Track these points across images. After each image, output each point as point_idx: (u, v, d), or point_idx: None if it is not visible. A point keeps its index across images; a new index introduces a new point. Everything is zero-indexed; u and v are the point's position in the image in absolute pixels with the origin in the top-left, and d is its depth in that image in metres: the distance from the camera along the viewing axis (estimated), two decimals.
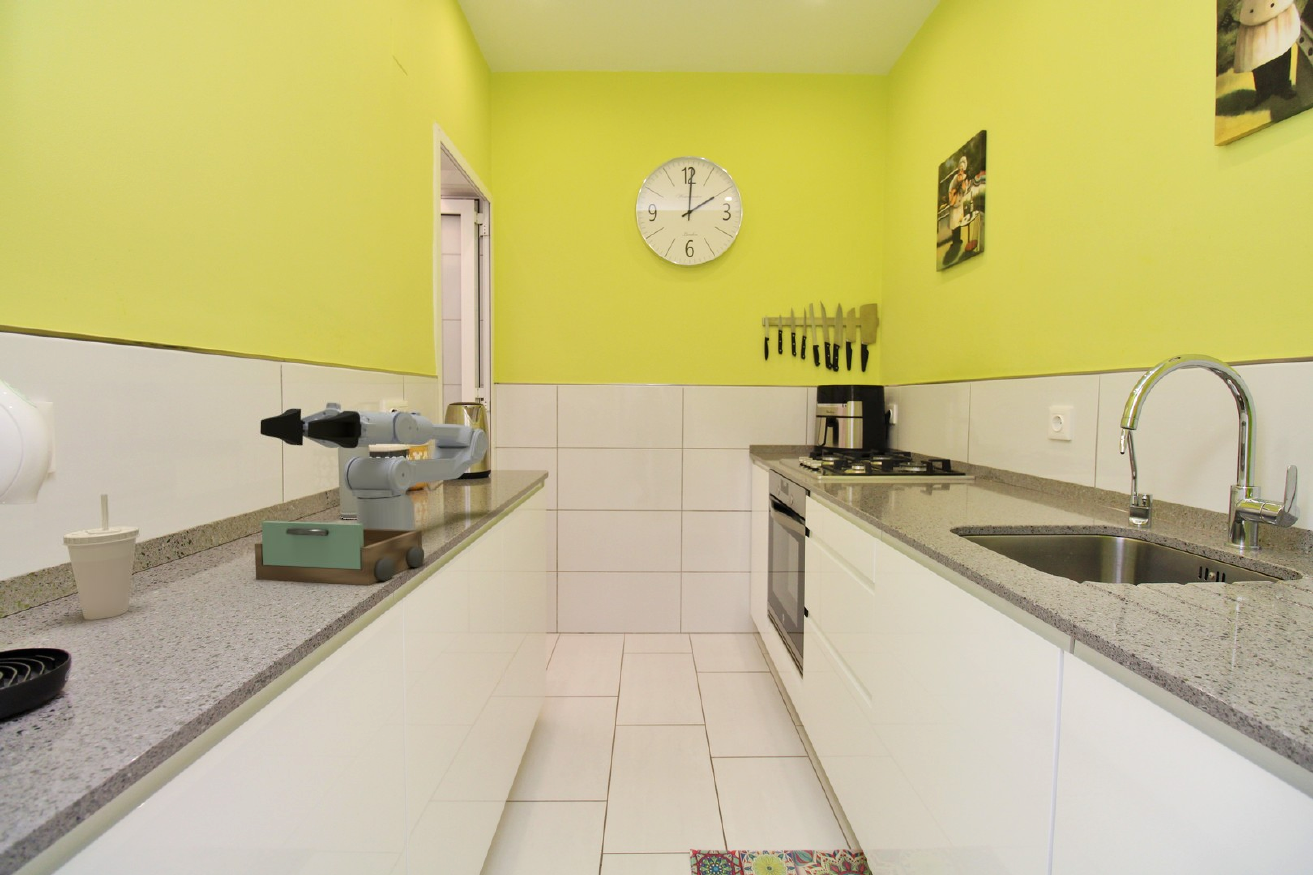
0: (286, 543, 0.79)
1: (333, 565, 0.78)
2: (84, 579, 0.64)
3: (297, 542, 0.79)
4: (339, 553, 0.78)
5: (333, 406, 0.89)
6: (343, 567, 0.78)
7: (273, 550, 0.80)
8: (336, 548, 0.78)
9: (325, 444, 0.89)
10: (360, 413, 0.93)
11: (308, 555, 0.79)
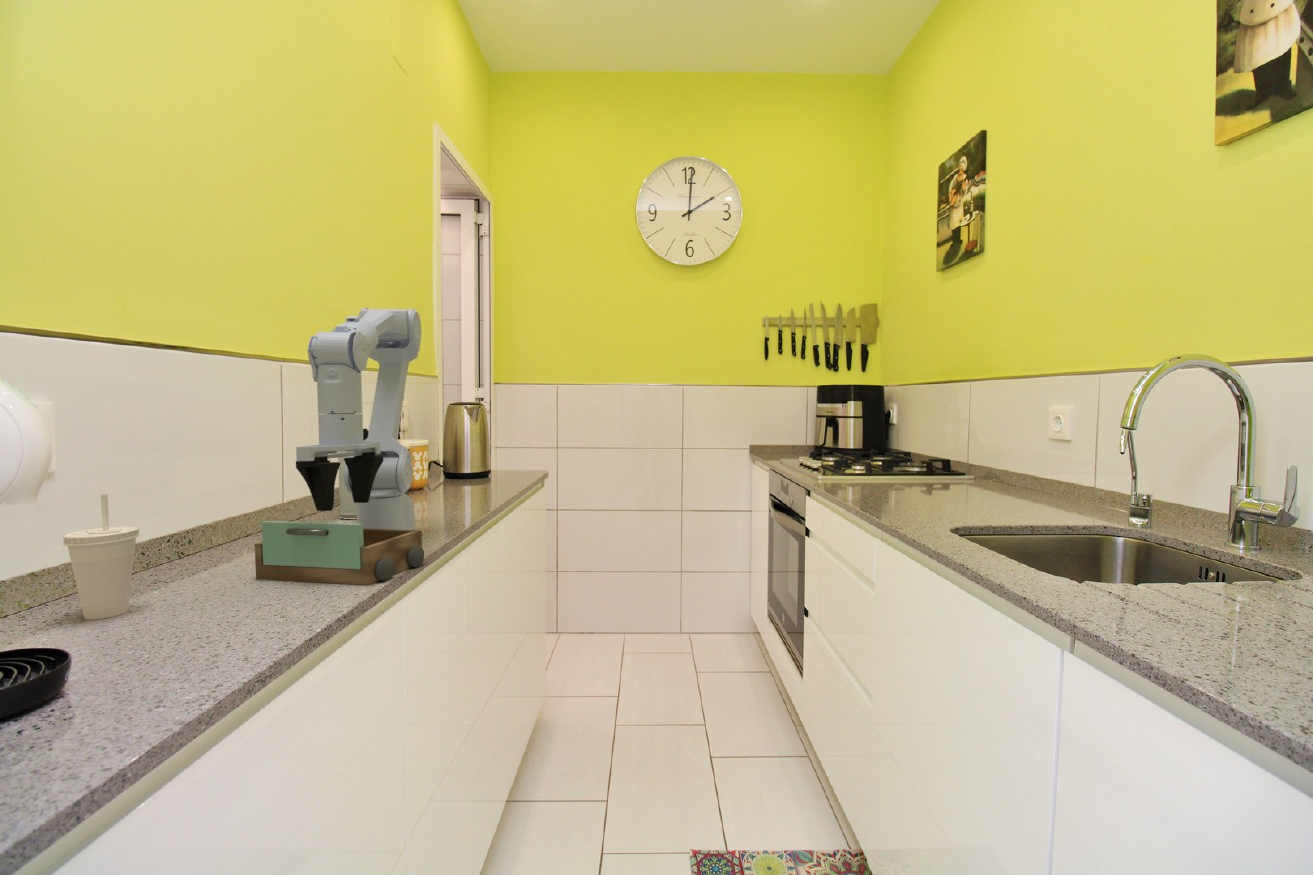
0: (286, 543, 0.79)
1: (333, 565, 0.78)
2: (84, 579, 0.64)
3: (297, 542, 0.79)
4: (339, 553, 0.78)
5: None
6: (343, 567, 0.78)
7: (273, 550, 0.80)
8: (336, 548, 0.78)
9: None
10: (362, 417, 0.85)
11: (308, 555, 0.79)
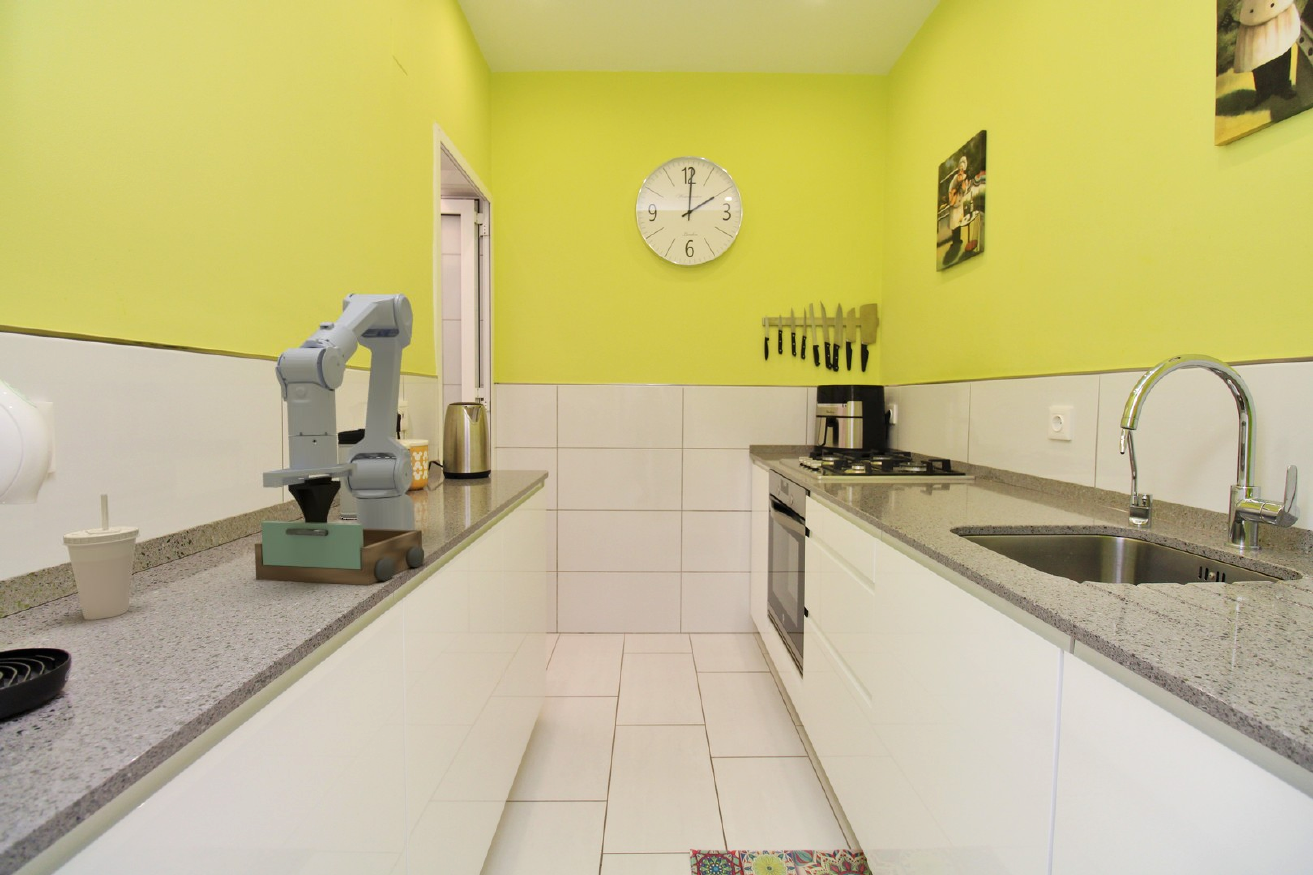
0: (286, 543, 0.79)
1: (333, 565, 0.78)
2: (84, 579, 0.64)
3: (297, 542, 0.79)
4: (339, 553, 0.78)
5: (337, 471, 0.79)
6: (343, 567, 0.78)
7: (273, 550, 0.80)
8: (336, 548, 0.78)
9: None
10: (336, 438, 0.80)
11: (308, 555, 0.79)
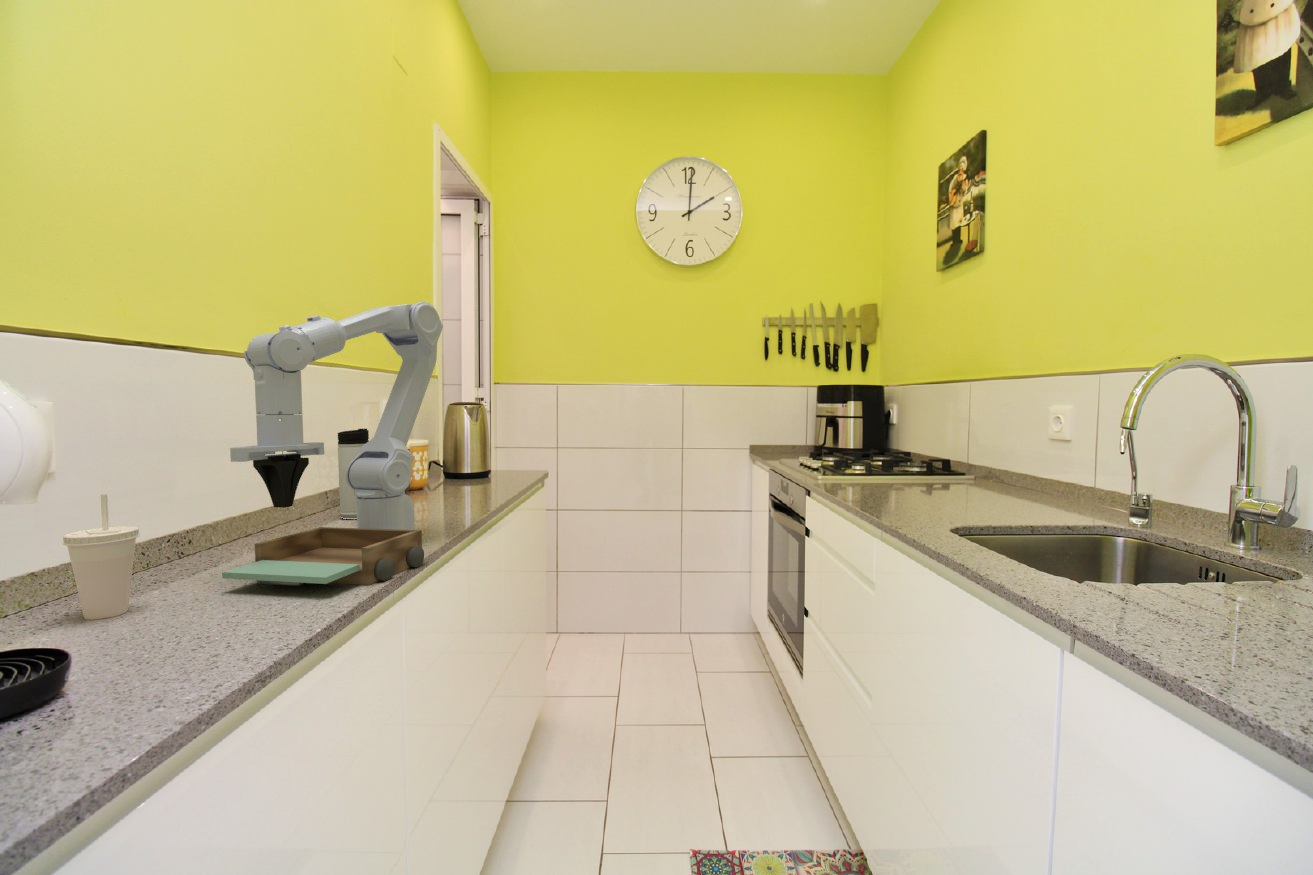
0: None
1: None
2: (84, 579, 0.64)
3: None
4: None
5: (302, 449, 0.84)
6: None
7: None
8: None
9: None
10: (302, 417, 0.85)
11: None
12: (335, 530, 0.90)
